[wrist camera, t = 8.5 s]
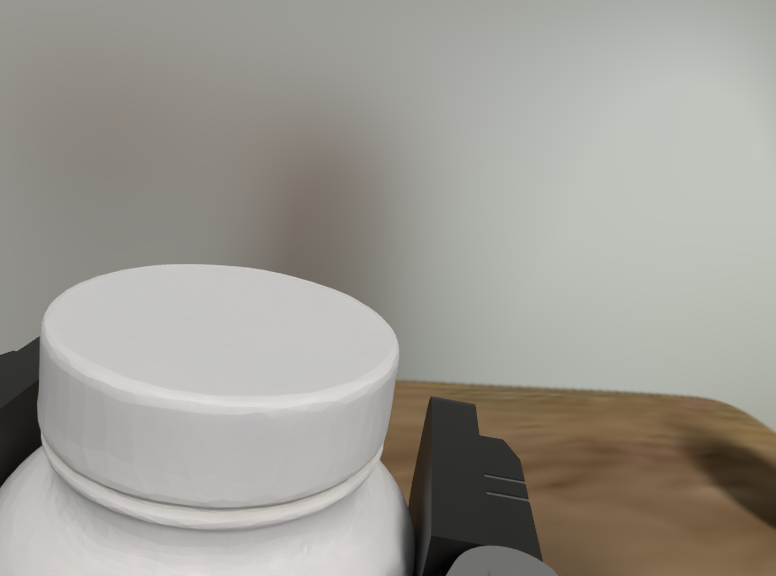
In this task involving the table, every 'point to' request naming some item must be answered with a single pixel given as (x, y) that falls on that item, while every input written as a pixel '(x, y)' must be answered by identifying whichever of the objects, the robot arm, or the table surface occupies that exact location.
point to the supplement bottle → (209, 432)
